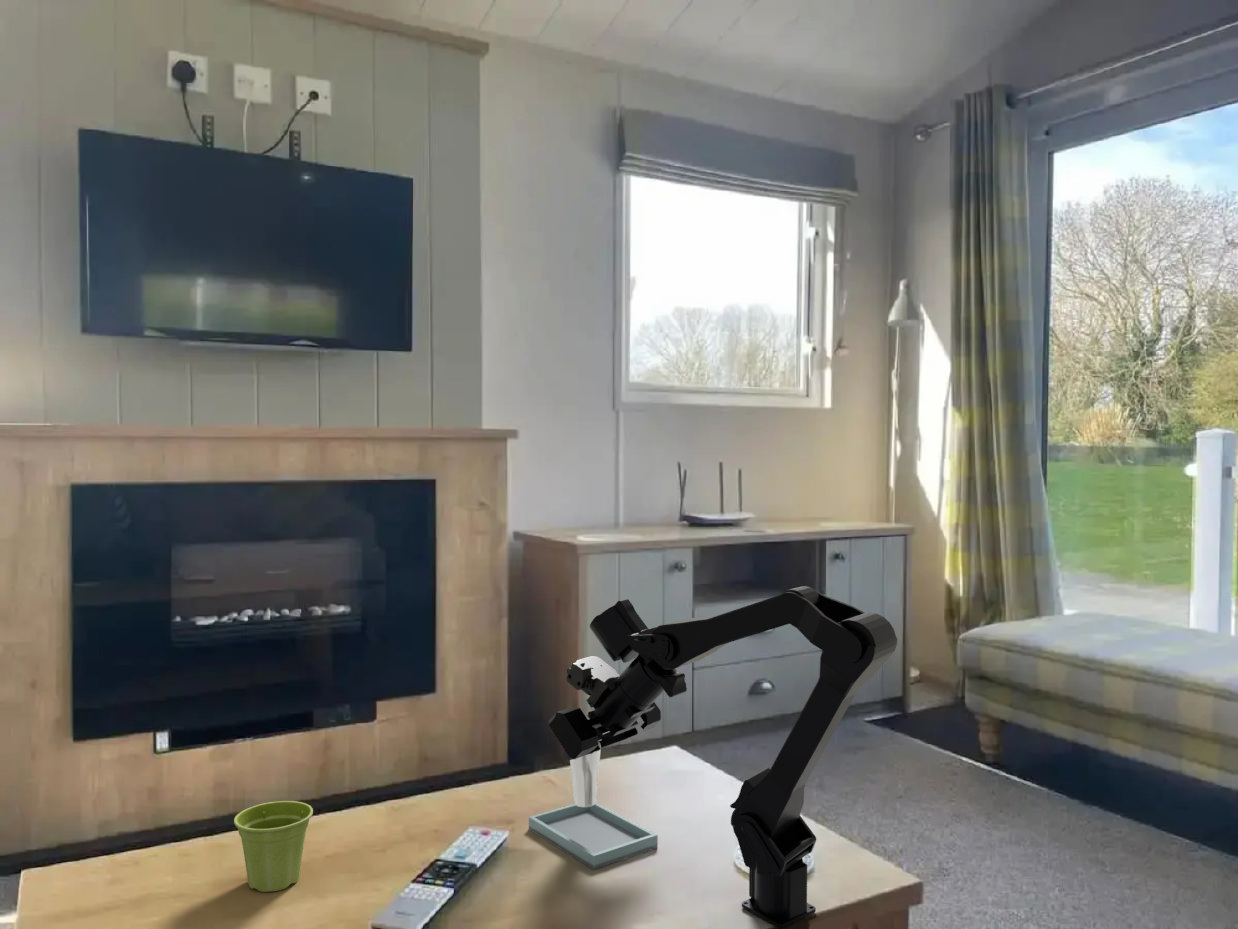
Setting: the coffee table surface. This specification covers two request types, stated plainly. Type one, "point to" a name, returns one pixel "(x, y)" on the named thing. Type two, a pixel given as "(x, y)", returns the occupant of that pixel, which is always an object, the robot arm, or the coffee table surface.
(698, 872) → the coffee table surface
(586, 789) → the milkshake
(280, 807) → the plant pot
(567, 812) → the tray
